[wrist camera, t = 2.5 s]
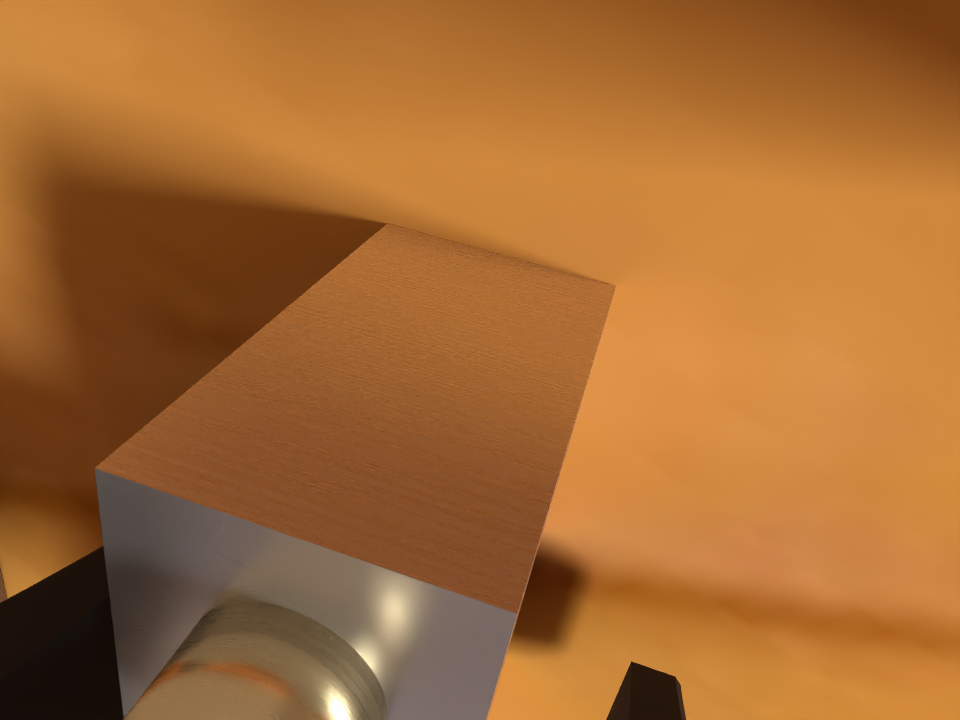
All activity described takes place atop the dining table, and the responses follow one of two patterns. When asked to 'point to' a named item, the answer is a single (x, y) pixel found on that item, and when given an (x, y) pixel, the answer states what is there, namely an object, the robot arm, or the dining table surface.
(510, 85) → the dining table surface
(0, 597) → the end link
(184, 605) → the block with brass knobs
